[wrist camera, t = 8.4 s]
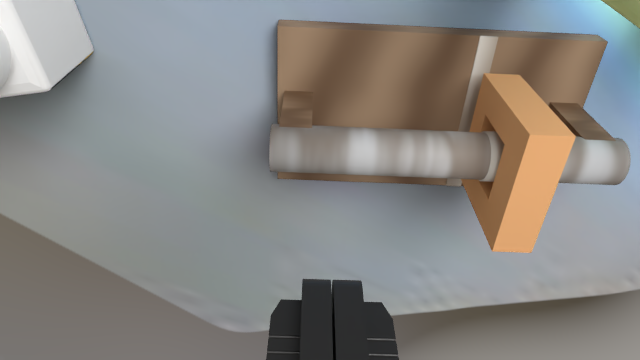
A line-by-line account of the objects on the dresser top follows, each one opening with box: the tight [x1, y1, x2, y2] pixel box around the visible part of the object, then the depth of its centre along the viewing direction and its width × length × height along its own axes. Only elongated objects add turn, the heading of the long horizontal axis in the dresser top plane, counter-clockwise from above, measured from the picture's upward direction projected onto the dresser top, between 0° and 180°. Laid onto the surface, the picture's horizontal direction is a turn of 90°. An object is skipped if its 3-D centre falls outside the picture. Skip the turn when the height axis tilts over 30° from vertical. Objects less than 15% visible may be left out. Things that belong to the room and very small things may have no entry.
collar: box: [461, 73, 576, 253], centre depth 31 cm, size 2×8×8 cm, turn 177°
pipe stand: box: [269, 20, 630, 186], centre depth 33 cm, size 22×12×9 cm, turn 87°
